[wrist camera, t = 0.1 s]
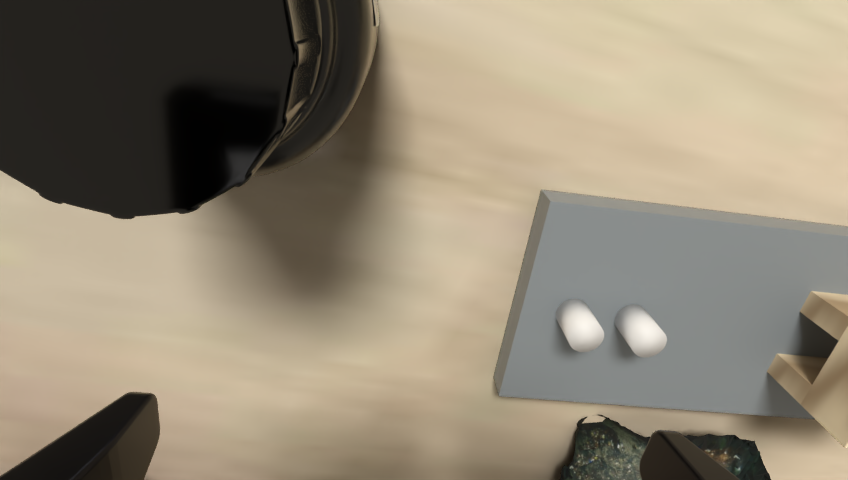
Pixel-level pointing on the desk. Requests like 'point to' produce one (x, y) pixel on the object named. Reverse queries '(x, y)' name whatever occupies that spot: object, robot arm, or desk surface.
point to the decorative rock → (622, 450)
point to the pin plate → (666, 305)
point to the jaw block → (821, 367)
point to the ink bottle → (172, 94)
